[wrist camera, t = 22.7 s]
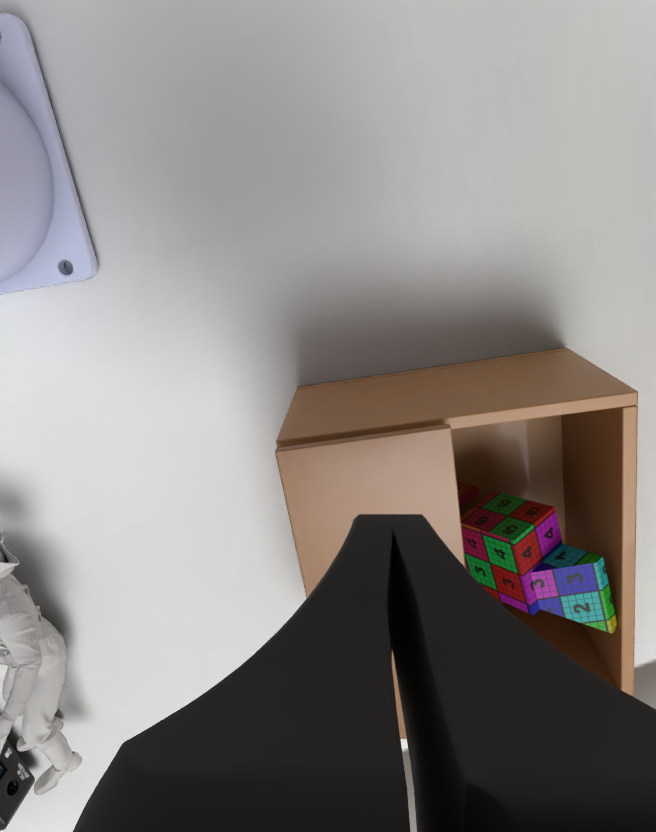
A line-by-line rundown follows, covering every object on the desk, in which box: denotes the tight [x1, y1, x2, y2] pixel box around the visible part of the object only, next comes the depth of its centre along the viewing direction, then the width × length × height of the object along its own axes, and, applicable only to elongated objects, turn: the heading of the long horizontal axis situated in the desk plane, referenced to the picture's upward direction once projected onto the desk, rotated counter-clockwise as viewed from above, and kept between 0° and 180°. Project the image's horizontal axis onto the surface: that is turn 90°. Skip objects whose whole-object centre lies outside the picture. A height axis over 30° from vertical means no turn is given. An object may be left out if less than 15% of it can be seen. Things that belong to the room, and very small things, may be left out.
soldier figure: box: [0, 532, 82, 795], centre depth 23 cm, size 8×5×12 cm
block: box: [457, 482, 618, 633], centre depth 18 cm, size 6×4×3 cm
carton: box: [276, 348, 638, 697], centre depth 19 cm, size 10×11×5 cm
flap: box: [275, 424, 466, 739], centre depth 16 cm, size 5×11×1 cm, turn 10°
